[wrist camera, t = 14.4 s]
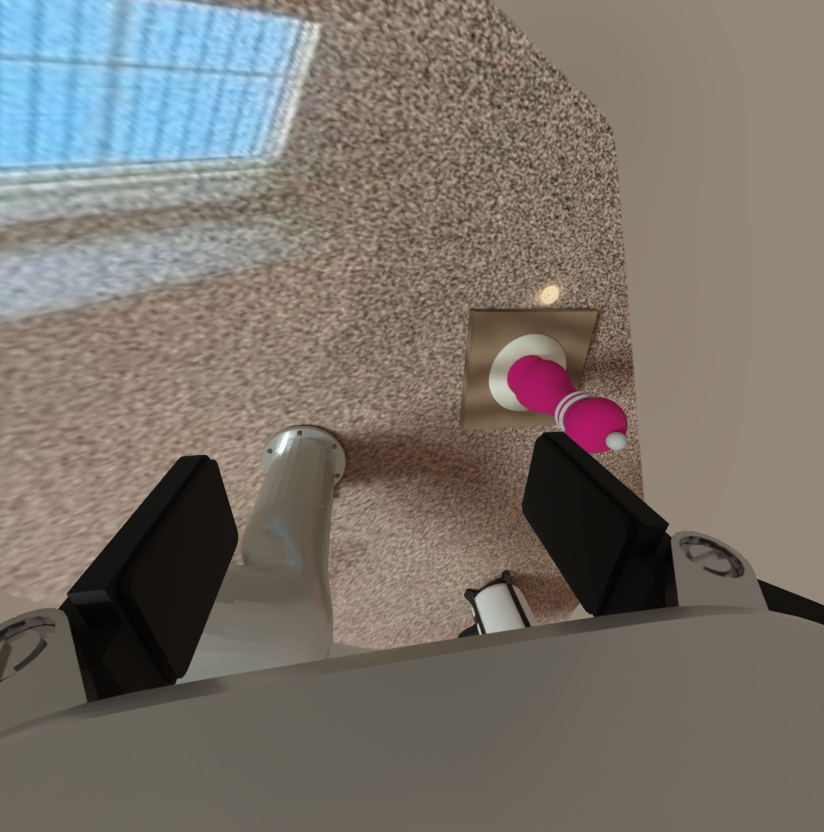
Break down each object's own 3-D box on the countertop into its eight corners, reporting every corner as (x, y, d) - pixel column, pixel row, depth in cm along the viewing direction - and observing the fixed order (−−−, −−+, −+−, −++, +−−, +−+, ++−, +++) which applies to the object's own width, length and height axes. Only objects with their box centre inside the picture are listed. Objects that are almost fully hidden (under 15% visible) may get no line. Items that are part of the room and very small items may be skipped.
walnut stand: (560, 417, 57) (569, 424, 55) (459, 422, 54) (464, 431, 52) (586, 308, 49) (599, 311, 47) (470, 309, 46) (476, 312, 44)
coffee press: (475, 565, 71) (547, 752, 45) (535, 574, 76) (633, 749, 49) (443, 616, 77) (489, 807, 51) (500, 622, 82) (569, 799, 56)
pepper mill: (500, 399, 50) (579, 480, 33) (505, 353, 47) (596, 415, 29) (545, 395, 51) (645, 472, 34) (553, 349, 48) (668, 408, 30)
